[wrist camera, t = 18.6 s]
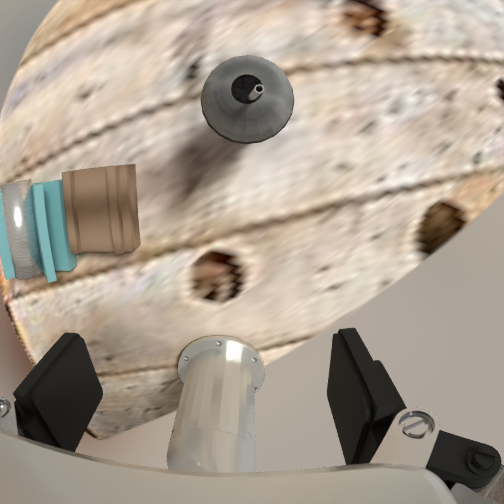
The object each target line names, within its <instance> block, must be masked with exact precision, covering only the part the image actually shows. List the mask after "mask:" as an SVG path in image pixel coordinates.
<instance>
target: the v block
mask: <svg viewBox="0 0 504 504" xmlns="http://www.w3.org/2000/svg"><path fill="white" fill-rule="evenodd" d="M31 185H32V197H33V207H34V215H35V223H36V230H37V237H38V243H39V249H40V255H41V260H42V265H43V273H44V275H45V277H46V279H47V281H48V283H49V282H53V281H57V279H56V274H55V270H59V271H71V270H72V269H73V268H75V267H76V266H77V263H76V257H75V254H72V253H71V252H70V246H69V240H68V232H67V225H66V216H65V207H64V196H63V183H62V180H55V181H48V182H41V183H34V184H31ZM0 256H1V261H2V265H3V270H4V274H5V278H6V280H7V279H11V278H14V277H15V274H14V270H13V265H12V261H11V256H10V251H9V245H8V240H7V233H6V227H5V220H4V212H3V204H2V194H1V190H0Z"/></svg>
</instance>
